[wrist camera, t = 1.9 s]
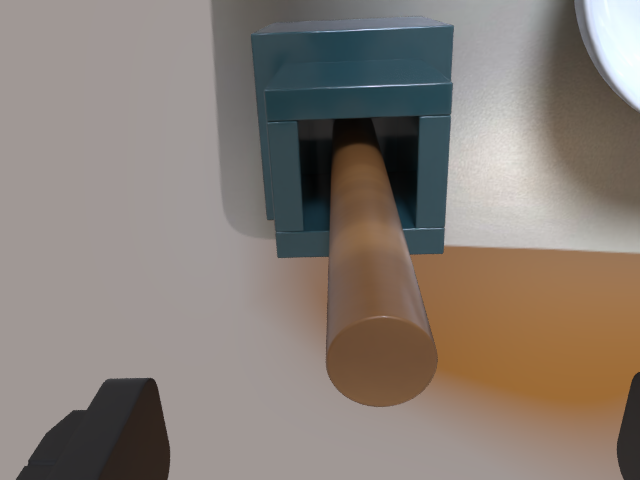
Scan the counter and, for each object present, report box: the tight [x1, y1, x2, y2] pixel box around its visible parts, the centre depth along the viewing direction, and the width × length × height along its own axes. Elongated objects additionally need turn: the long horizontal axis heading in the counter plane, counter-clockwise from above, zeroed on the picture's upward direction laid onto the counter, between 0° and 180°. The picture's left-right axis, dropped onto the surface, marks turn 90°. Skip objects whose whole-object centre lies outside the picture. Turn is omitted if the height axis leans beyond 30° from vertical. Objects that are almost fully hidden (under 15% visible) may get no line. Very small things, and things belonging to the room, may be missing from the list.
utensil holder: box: [251, 16, 454, 258], centre depth 30 cm, size 10×10×19 cm
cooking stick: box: [326, 118, 438, 407], centre depth 20 cm, size 2×2×20 cm
